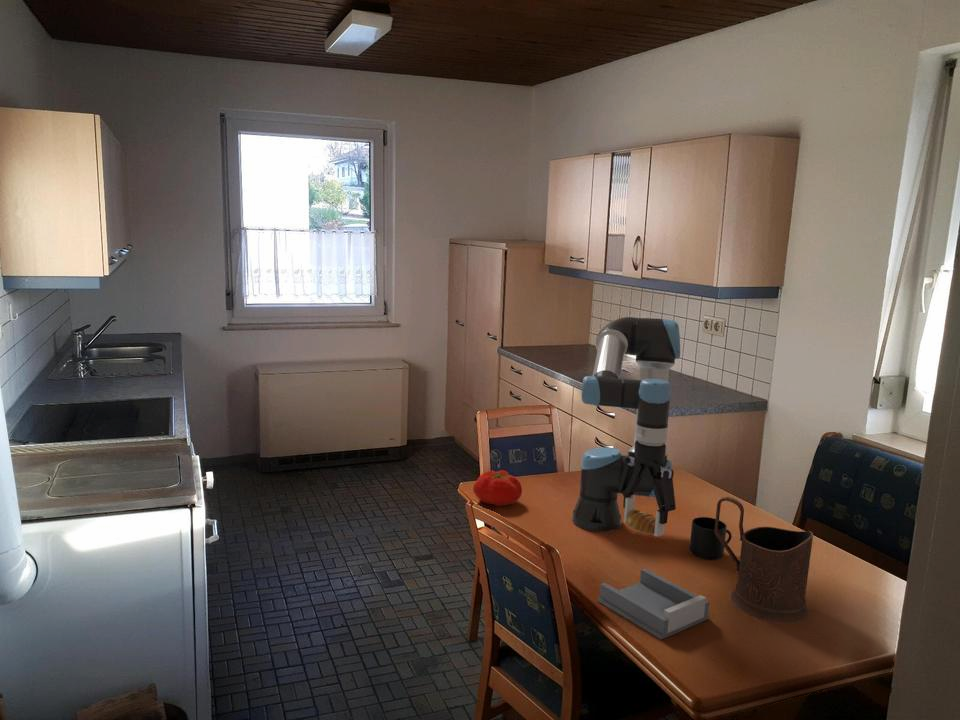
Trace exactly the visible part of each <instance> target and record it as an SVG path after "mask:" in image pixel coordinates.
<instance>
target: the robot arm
mask: <svg viewBox="0 0 960 720" xmlns="http://www.w3.org/2000/svg"><path fill="white" fill-rule="evenodd" d="M680 336H681V335H680V327H679V323H678V322H677V321H675V320H673V319H672V320H671V319H667V318H666V319H665V318H653V317H652V318H648V317H633V316H625V317H624V316H623V317H619V318H617V319H614V320H612V321H611V322H609V323H608V324H606V325H604V327H603V328H602V329H601V330H600V331H599V332H598V334H597V336H596V339H595V349H596V351H597V352H596V357H595V361H594V362H595V363H594V367H593V372H592V375H587V376H584V377H583V379H582V385H581V402H582V403H584V404H585V405H593V406H594V407H598V406H602V407H610V408H611V407H613V408H625V409H635V410H636V415H635V427H634V428H635V429H634V442H633V445H632V446H631V447H630V448H629V449H628V452H627V455H622V452H621V450H620V449H618V448H614V447H608V446H607V447H596V448H592V449H588V450H587V451H585V452H584V454H583V455H582V460H581V465H580V469H581V472H580V481H579V482H580V483H579V484H580V486H579V497H578V499H577V501H576V505H575V507H574V510H573V511H572V517H571V519H572V522H573V524H574V525H576V526H577V527H579V528H581V529H585V530H587V531H593V532H599V533H600V532H604V533H605V532H612V531H616V530H618V529H620V527H621V526H622V515H621V513H620V507H619V503H618V494H621V495H622V496H623V503H622V504H623V505H622V506H623V509H624V513H623V514H624V515H623V523H625V524H627V522H626V518H627V517H628V515H629V513H630V512H632V511H633V510H635V504H636V503H635V501H636V497H635V496H639V497H647V498H655V500H656V504H657V507H658V509H656V511H655V518H656V520H655V532H654V534H653V536H654V537H656V538H657V537H660V536H664V534H665V525H666V524H667V523H668V517H669V512H671V511H675V510H676V509H677V507H676V506H677V505H676V498H675V489H674V481H673V479H674V474H675V473H674V472H675V471H674V470H673V469H672V463H673V462H672V460H670V459H668V453H667V451H666V450H667V445H666V444H665V443H667V441H668V428H669V415H670V404H671V398H672V385H671V383H670V382H669V374H670V369H672V367H674V366H675V363H676V362H675V361H676V360H678V359H681V337H680ZM624 355H629V356H635V363H636V364H637V365H638V367H639V377H638V379H628V378H621V377H622V370H623V369H622V368H623V360H624Z"/></svg>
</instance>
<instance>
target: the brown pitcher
mask: <svg viewBox="0 0 960 720" xmlns="http://www.w3.org/2000/svg"><path fill="white" fill-rule="evenodd" d="M723 502H730V503H732V504H735V505H736V506H737V507H738V509H739V511H740V514H739V520H738V521H739V522H738V528H739V537H740V539H739V541H740V542H741V546H740V556H739V558H738V557H737V556H736V554H735V553H734V551H733V550H732V549H731V547H730V546H729V545H728V544H729V543H726V542H725V541H726V539H725V540H724V539H723V537H722V536H721V535H720V533H719V531H718V525H719V520H720V516H721V515H720V514H721V508H722V507H721V505H722V503H723ZM744 514H745V509H744V506H743V504H742V503H741V502H740V501H739V500H737V499H735V498H734V497H730V496H725V497H721V498H720V499H719V500H718V501H717V504H716V514H715V519H716V521H715V531H714V532H715V535H716V537H717V538H718V539H719V541H720V542H721V544H722V545H723V546H724V550H726V552H727V554H729V557H731V559H732V560H733V561H734V563H735V565H736V568H735V571H736V572H738V575H737V583H736V584H735V588H734V589H733V590H732V591H731V592H730V596H729V599H730V602H731V603H732V604H733V606H734V607H735V608H736V609H737V610H739V611H740V612H742V613H743V614H745V615H747V616H749V617H751V618H755V619H757V620H760V621H763V622H768V623H773V624H779V625H793V624H797V623H802V622H804V621H805V620H807V619H808V617H809V616H810V611H809V610H810V609H809V608H808V606H807V602H806V601H807V599H806V592H807V585H808V578H809V577H808V576H809V569H810V562H811V555H812V546H813V539H814V532H813V531H811V530H808V531H807V530H806V531H805V530H804V531H797V530H790V529H784V528H779V527H774V526H757V527H753V528H751V529H747V530H746V531H745V530H744V527H743V524H744Z"/></svg>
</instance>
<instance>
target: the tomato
mask: <svg viewBox="0 0 960 720" xmlns="http://www.w3.org/2000/svg"><path fill="white" fill-rule="evenodd" d="M472 489H473V490H472V491H473V493H474V494H475V496H476V497H477V498H478V499H479V500H480V501H482V502H483V503H485V504H487V505H494V506H497V507H502V506H503V507H504V506H507V505H511V504H513V503H515V502H517V501H518V500H519V499H520V498H521V496H522V493H523V488H522V484H521V482H520V481H519V480H518V478H517V477H516V476H515V475H514V476H513V475H511V474H510V473H509V472H507V471H506V470H502V469H500V470H498V471H494V470H487V471H485V472H483V473H482V474H481V475H479V477H478V478H477V480H476V481H475V482H474V484H473V487H472Z"/></svg>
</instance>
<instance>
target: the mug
mask: <svg viewBox="0 0 960 720" xmlns="http://www.w3.org/2000/svg"><path fill="white" fill-rule="evenodd" d="M715 521H716V518H714V517H708V516H701V517H700V516H699V517H695V518H693V519H692V522H691V531H690V540H689V552H690V553H691V554H692V555H693V556H695V557H697V558H700V559H703V560H709V561H710V560H711V561H714V560H716V561H717V560H721V559H722V558H723V557H724V554H725V548H724V546H723V545H722V544H721V542H720V541H719V539H718V538H717V537H716V535H715V532H714V531H715ZM727 528H728V527H727V524H726V523H725V522H724V521H722V520H721V519H719V525H718V531H719V533H720V535H721V536H722V537H723V539H724V540H725V542H726V543H727V544H729V543H730V542H731V540H732V533H731V531H730V530H729V529H727ZM726 535H728V538H727V537H726ZM726 538H727V540H726Z"/></svg>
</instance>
